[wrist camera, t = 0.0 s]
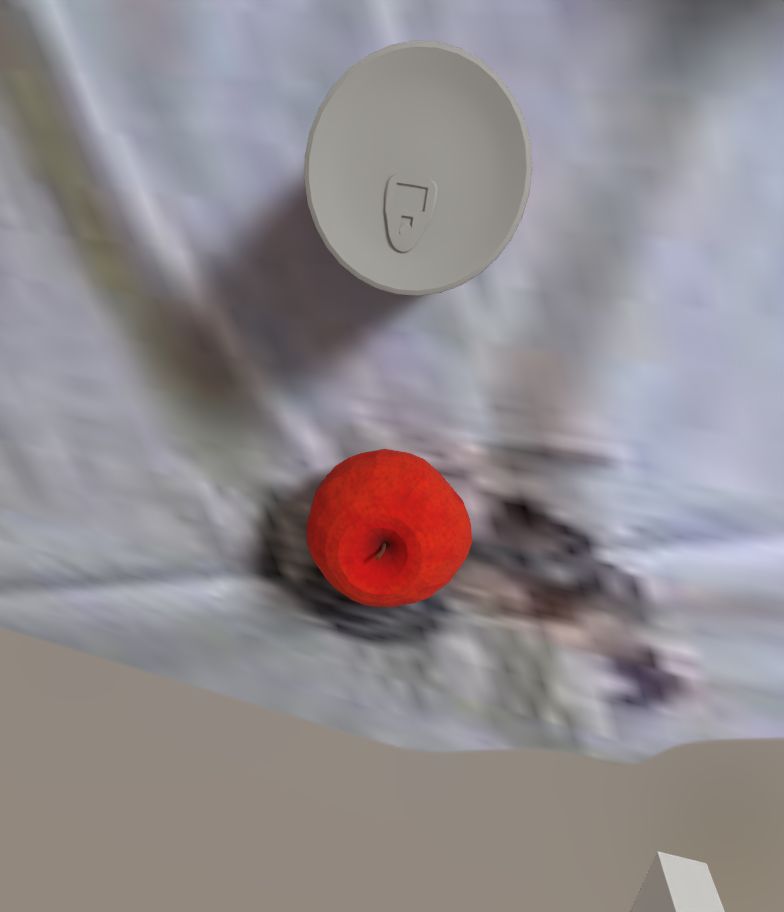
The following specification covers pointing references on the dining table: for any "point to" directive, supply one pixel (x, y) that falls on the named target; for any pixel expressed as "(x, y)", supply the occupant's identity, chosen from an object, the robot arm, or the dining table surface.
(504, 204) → the canned food
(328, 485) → the apple
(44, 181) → the dining table surface
